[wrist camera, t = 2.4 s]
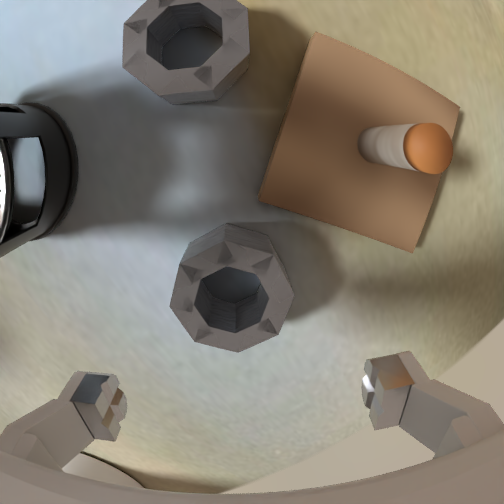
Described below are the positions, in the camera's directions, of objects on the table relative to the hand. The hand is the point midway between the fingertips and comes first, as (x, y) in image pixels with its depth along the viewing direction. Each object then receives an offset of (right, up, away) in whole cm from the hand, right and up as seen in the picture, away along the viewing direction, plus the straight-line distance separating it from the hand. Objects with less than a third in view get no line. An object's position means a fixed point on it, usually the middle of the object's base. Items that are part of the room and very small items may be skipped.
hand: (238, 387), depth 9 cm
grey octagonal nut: (-1, +3, +10) cm, 11 cm away
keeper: (+7, +11, +8) cm, 15 cm away
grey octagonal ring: (-3, +15, +6) cm, 17 cm away
